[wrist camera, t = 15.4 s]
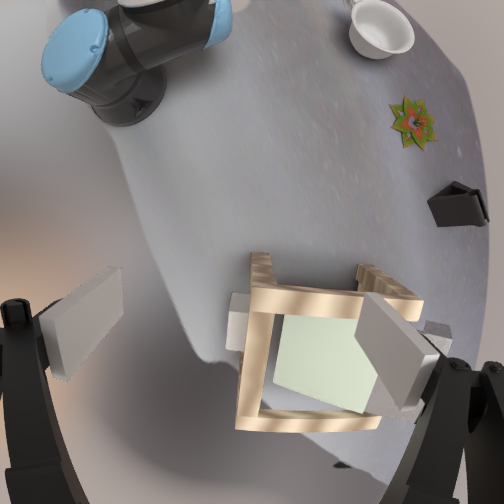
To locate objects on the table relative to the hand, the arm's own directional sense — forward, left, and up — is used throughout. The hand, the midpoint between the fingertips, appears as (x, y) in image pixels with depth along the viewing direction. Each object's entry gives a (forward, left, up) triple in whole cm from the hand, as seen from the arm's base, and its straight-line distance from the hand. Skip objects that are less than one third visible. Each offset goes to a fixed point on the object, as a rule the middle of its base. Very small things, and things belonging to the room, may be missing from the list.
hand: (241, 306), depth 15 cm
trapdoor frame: (+13, -16, -38) cm, 43 cm away
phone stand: (+40, +10, -38) cm, 56 cm away
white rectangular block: (+1, -16, -29) cm, 33 cm away
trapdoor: (+21, -16, -26) cm, 37 cm away
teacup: (+18, +40, -38) cm, 58 cm away
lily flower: (+30, +24, -39) cm, 54 cm away
